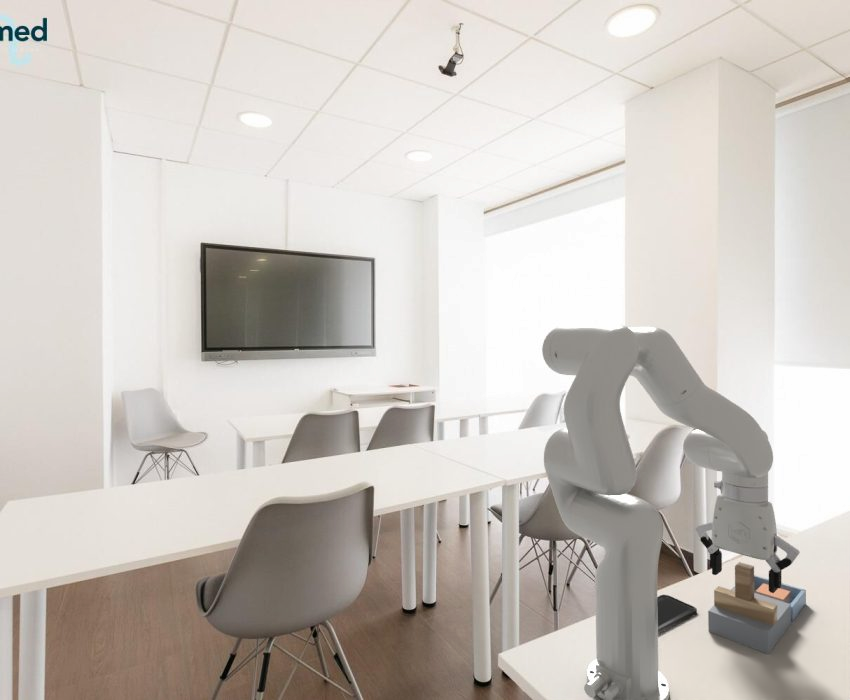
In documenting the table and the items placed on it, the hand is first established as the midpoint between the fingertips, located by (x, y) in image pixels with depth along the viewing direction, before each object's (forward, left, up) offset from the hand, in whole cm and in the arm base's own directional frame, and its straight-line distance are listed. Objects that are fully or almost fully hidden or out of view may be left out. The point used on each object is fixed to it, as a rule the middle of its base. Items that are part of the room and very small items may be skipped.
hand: (744, 581), depth 99 cm
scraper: (0, 0, -6) cm, 6 cm away
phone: (-5, +14, -11) cm, 18 cm away
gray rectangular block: (+3, 0, -10) cm, 10 cm away
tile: (+16, 0, -8) cm, 18 cm away
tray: (+16, 0, -10) cm, 18 cm away
